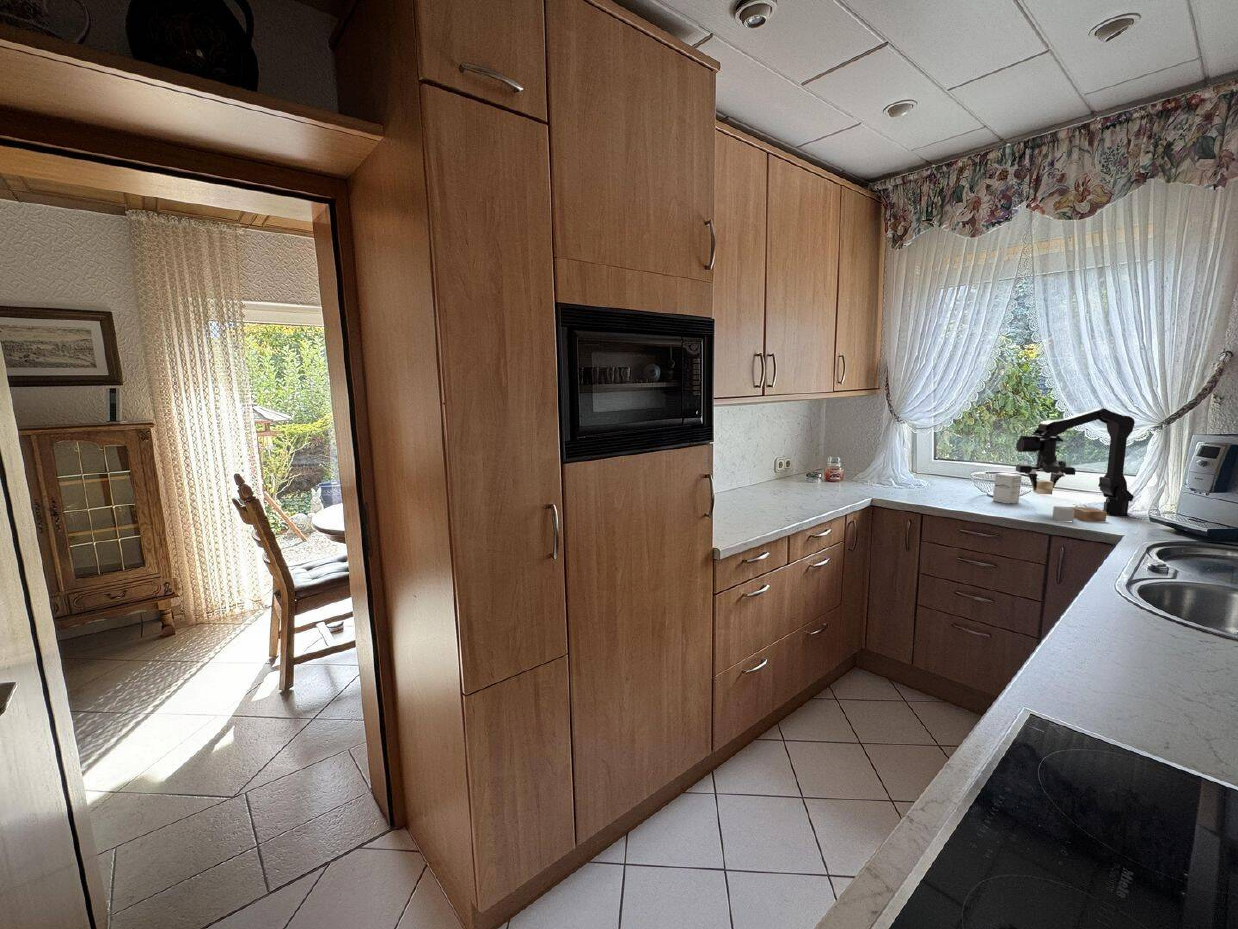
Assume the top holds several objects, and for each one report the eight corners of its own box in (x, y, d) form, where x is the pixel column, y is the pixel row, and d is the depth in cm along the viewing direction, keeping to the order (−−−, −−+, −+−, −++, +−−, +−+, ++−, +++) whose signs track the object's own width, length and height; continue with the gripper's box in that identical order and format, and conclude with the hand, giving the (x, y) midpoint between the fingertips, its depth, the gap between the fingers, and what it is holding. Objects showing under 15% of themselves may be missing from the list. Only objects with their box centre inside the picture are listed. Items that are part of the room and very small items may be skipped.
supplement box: (992, 501, 251) (994, 473, 249) (1002, 499, 254) (1004, 472, 252) (1009, 504, 244) (1012, 475, 242) (1019, 502, 247) (1022, 474, 245)
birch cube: (1047, 492, 229) (1048, 480, 229) (1052, 494, 225) (1053, 482, 224) (1032, 491, 231) (1034, 479, 230) (1037, 493, 226) (1038, 481, 225)
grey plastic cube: (1067, 519, 217) (1069, 507, 217) (1073, 522, 213) (1074, 509, 212) (1052, 518, 219) (1053, 506, 218) (1057, 521, 214) (1058, 509, 214)
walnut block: (1091, 517, 222) (1092, 507, 221) (1105, 522, 214) (1106, 512, 213) (1068, 516, 223) (1070, 506, 222) (1082, 521, 215) (1083, 511, 214)
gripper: (1026, 454, 221) (1022, 492, 223) (1083, 455, 215) (1079, 495, 217) (1017, 450, 231) (1013, 487, 233) (1071, 452, 225) (1066, 490, 227)
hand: (1042, 490), depth 228 cm, fingers closed on birch cube, 5 cm apart
